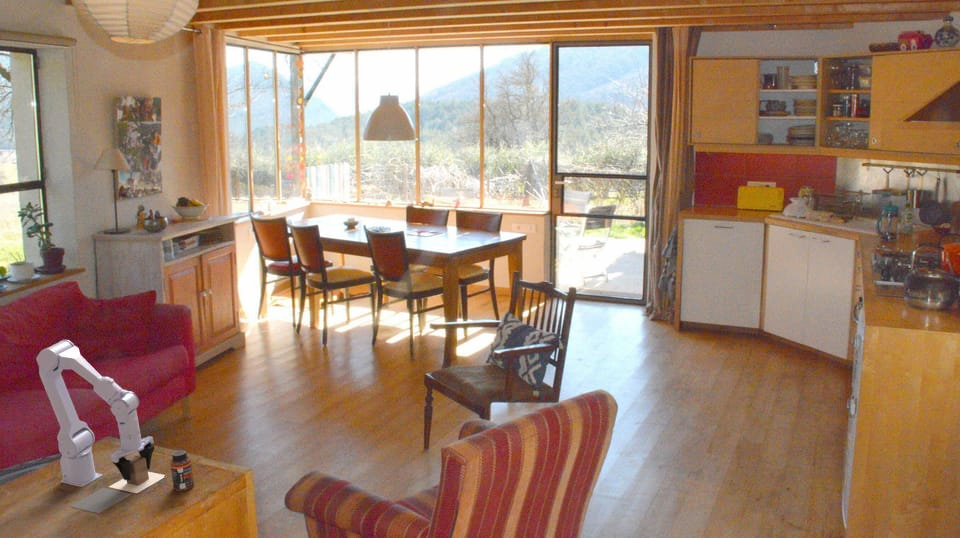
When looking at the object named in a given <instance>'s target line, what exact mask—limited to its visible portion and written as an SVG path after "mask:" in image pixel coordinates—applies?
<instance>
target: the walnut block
mask: <svg viewBox="0 0 960 538" xmlns="http://www.w3.org/2000/svg"><path fill="white" fill-rule="evenodd" d="M127 460H130V480H129V481H127V483H128V484H133V485H137V486H138V485H139V484H141V483H143V482H145V481H146V480H148V479H149V475H148V472H149V471H148V469H147V463H146V458H144V457H140V455H139V456H137V455H134V456H132V457H130V458H129V459H127Z"/></svg>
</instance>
